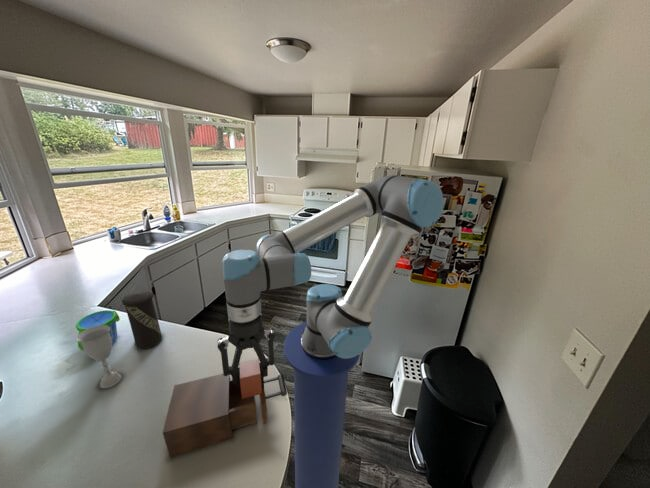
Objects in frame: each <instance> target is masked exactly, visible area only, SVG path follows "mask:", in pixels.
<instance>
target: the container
mask: <svg viewBox="0 0 650 488" xmlns="http://www.w3.org/2000/svg"><path fill="white" fill-rule="evenodd" d="M153 298H154V293H153V291H151V290H148V289H138V290H134V291H131V292H128V293H126V294H125V295H124V296H123V297H122V299H121V303H122V305H123V306H124V308H125V312H126V314H127V317H128V321H129V325H130V328H131V332H132V335H133V341H134V343H135V346H136V348H138V349H140V350H144V349H145V350H146V349H150V348H153V347H155V346H157V345H158V344H160V342H162V339H163V334H162V331H161V326H160V323H159V319H158V315H157V312H156V308H155V304H154V301H153Z"/></svg>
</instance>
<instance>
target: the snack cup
mask: <svg viewBox="0 0 650 488" xmlns="http://www.w3.org/2000/svg"><path fill="white" fill-rule="evenodd" d="M120 320H121V319H120V315H119V314H118V312H117V311H115V310H110V309H109V310H108V309H105V310H99V311H95V312H93V313H90V314H87V315H85V316H84V317H82V318H80V319H79V320H78V321H77V322H76V324H75V328H76V330H77V331H78V334H77V336H78V335H79V334H80V333H81V332H83V331H84V330H86V329H88V328H91V327H94V326H99V325H107V326H109V327H110V331H109V333H110V336H111V339H112V344H113V343H114V342H115V341H116V340H117V339H118V328H117V322H120ZM77 346H78V348H79V350H81V351H84V349H83V346H82V344H81V342H80V341H78V340H77Z"/></svg>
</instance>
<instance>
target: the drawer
mask: <svg viewBox="0 0 650 488" xmlns="http://www.w3.org/2000/svg"><path fill="white" fill-rule="evenodd" d="M275 381H277V382H278V386H279V390H280V391H278V392H274V393H270V394H267V395H266V392H265V388H264V389H262V394H259V402H260V411H261V421H262V425H263V424H267V423H268V410H267V409H268V408H267V400H268V399H271V398H276V397H278V396H279V397H280V396H281V397H285V396H287V395H288V391H287V386H286V382H285V378H284V374H282V373H280V374H278V375H277V376H275V377H271V378H266V379H264V384H267V383H271V382H275ZM229 417H230V424H231V430H232V431H233V430H235V429H239V428H243V427H245V426H248V425H249V426H250V425H253V424H255V423H258V414H257V403H256V395H255V396H252V397H248V398H244V399H242V395H239V393H238V384H233V381H232V377H230V379H229Z"/></svg>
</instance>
